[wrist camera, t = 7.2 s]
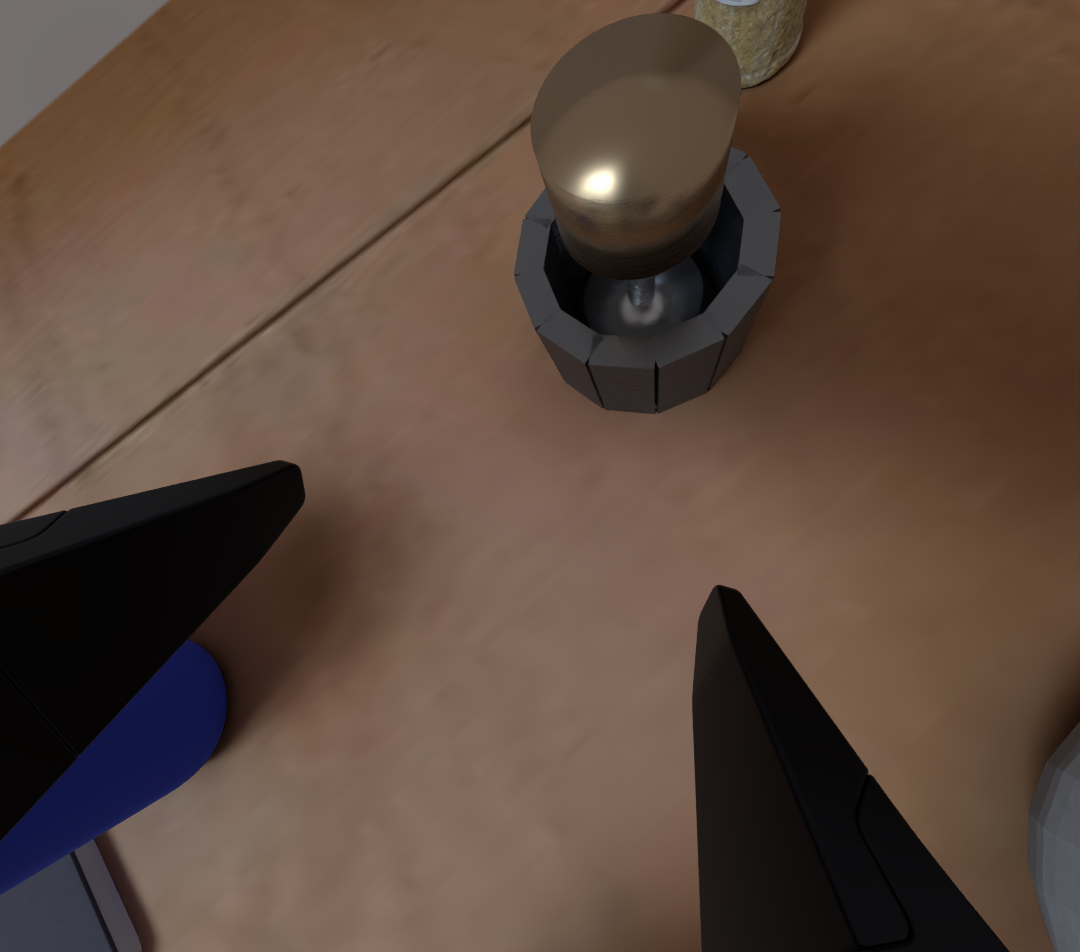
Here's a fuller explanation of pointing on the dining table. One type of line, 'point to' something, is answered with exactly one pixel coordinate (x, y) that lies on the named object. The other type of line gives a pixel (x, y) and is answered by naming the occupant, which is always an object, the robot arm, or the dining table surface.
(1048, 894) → the coffee pot
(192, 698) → the mug
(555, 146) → the plunger
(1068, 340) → the dining table surface
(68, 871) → the notebook
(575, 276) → the press body
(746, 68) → the sprinkles bottle
